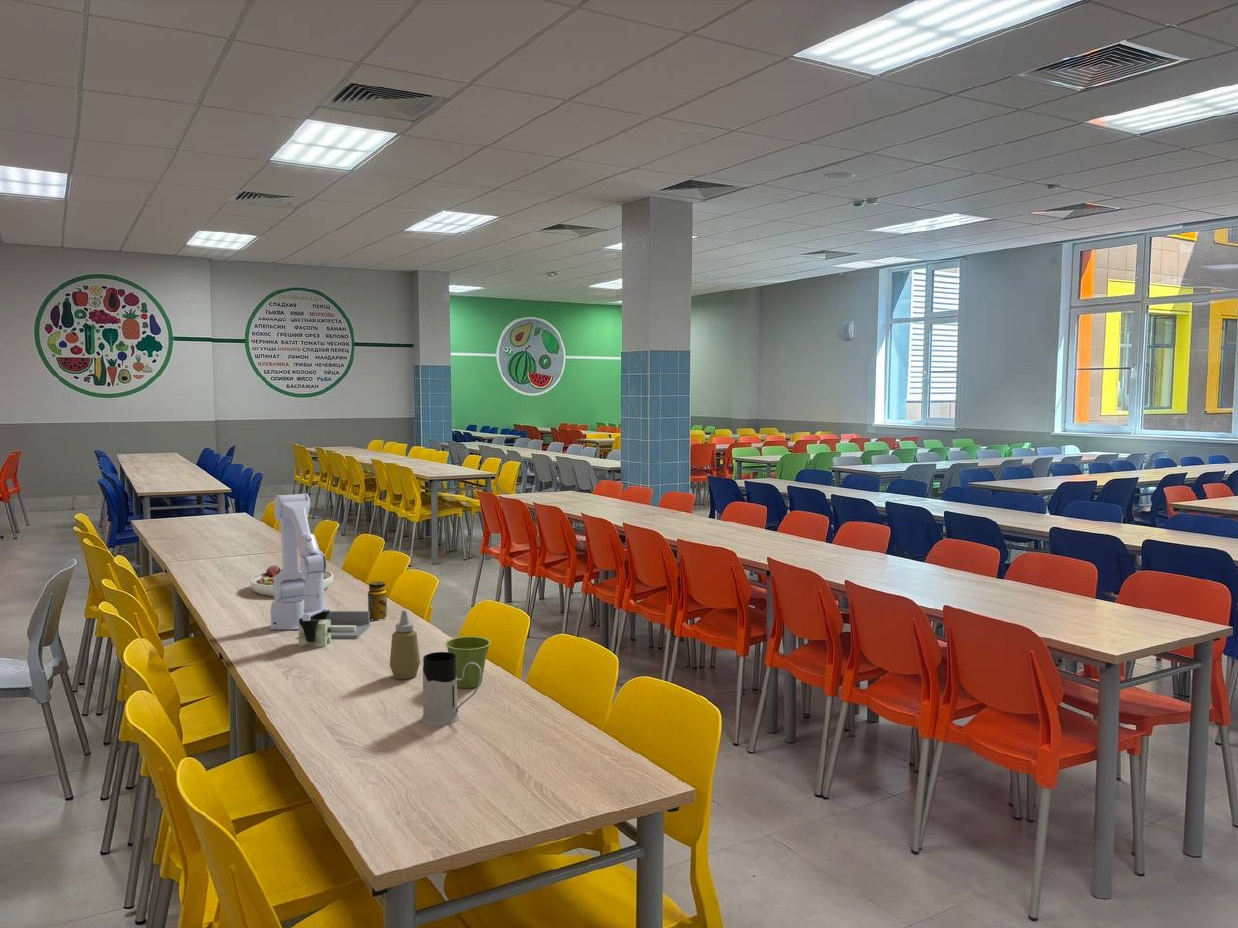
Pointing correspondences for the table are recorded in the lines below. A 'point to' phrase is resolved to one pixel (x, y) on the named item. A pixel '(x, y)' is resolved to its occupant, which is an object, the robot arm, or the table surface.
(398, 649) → the squeeze bottle
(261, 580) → the bowl
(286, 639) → the table surface
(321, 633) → the block
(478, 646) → the plant pot
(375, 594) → the condiment
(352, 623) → the board
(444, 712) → the glass holder
